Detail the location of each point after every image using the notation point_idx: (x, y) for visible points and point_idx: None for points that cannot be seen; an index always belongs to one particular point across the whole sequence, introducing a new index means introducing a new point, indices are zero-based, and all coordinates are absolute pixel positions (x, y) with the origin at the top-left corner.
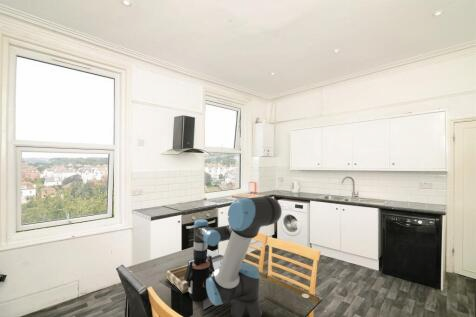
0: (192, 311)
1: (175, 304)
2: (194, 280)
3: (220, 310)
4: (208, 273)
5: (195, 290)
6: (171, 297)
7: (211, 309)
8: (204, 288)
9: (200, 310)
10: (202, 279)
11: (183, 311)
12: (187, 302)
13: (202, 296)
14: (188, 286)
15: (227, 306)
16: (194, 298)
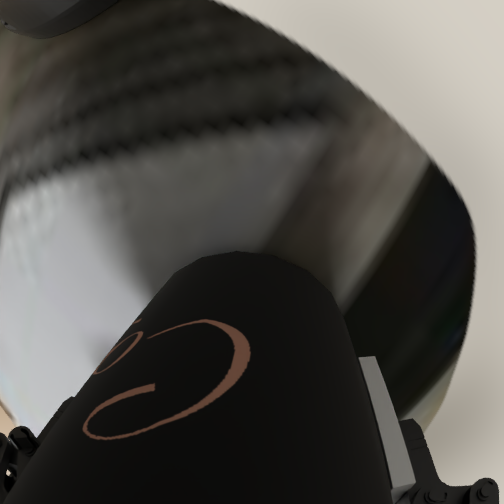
0: (427, 171)
1: (450, 338)
2: (387, 492)
3: (201, 21)
4: (22, 496)
5: (351, 356)
6: (410, 410)
7: (265, 72)
8: (223, 309)
9: (365, 129)
10: (250, 480)
11: (471, 226)
12: (384, 314)
13: (267, 265)
14: (421, 429)
15: (120, 45)
16: (337, 307)
